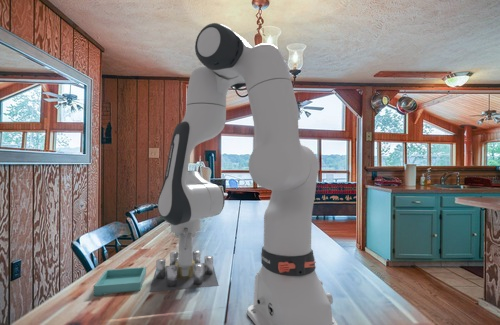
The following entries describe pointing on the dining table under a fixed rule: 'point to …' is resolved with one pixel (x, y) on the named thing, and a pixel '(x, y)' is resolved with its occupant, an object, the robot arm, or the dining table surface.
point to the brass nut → (190, 271)
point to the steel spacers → (173, 268)
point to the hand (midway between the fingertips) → (185, 270)
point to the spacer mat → (183, 282)
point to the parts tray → (120, 281)
